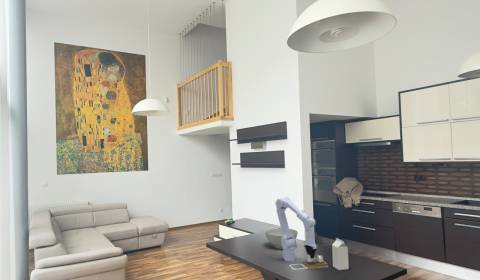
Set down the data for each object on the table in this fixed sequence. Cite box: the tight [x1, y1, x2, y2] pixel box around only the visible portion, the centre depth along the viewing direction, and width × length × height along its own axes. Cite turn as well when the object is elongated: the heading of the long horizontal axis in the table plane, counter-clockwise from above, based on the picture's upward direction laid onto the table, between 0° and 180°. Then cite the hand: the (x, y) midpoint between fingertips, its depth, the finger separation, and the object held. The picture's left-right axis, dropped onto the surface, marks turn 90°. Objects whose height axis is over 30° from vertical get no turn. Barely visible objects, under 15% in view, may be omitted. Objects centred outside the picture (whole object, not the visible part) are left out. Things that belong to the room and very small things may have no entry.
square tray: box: [288, 263, 308, 271], centre depth 202 cm, size 9×9×2 cm
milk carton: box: [331, 237, 350, 271], centre depth 199 cm, size 7×7×19 cm
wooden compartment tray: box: [303, 260, 329, 270], centre depth 203 cm, size 8×14×3 cm, turn 101°
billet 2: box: [316, 254, 324, 264], centre depth 204 cm, size 4×4×6 cm
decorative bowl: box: [264, 227, 299, 250], centre depth 255 cm, size 27×27×12 cm
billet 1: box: [306, 253, 313, 265], centre depth 203 cm, size 4×4×6 cm
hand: (310, 257), depth 203 cm, fingers closed on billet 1, 4 cm apart
